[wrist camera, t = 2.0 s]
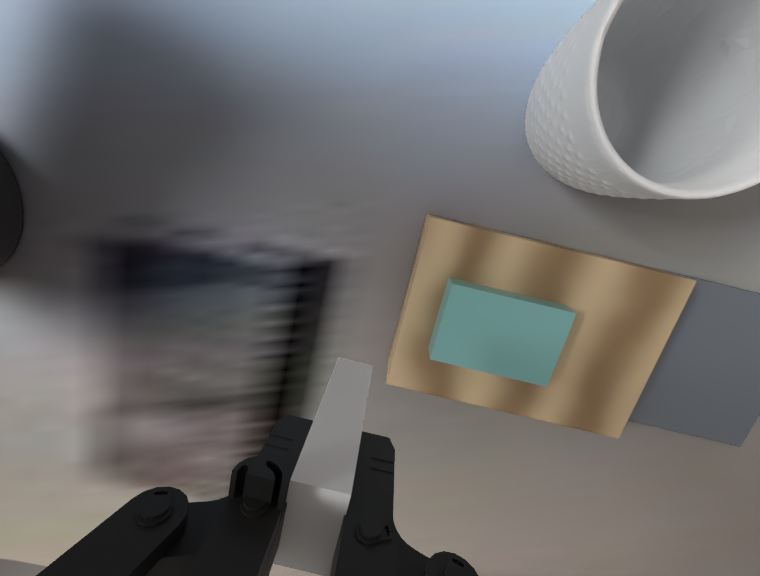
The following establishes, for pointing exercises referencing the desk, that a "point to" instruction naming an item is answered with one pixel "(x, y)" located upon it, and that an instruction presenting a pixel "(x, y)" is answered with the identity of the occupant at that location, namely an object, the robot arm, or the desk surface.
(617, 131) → the mug
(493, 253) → the board
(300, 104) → the desk surface
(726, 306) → the mat
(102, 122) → the desk surface
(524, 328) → the teal rectangular block
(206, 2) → the desk surface
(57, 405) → the desk surface
